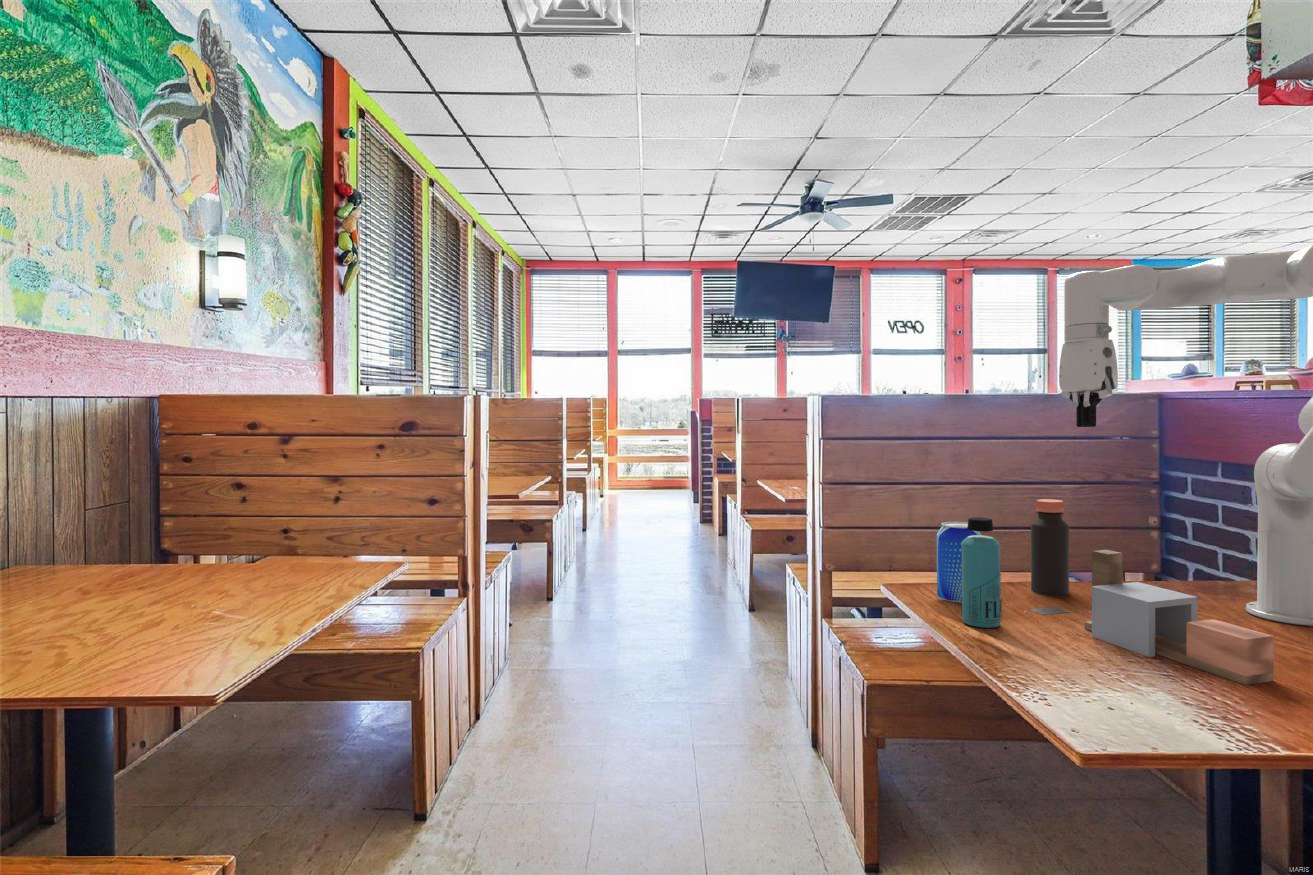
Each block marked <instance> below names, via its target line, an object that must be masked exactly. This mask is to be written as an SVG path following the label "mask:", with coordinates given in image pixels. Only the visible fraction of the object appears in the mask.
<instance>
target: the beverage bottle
mask: <svg viewBox="0 0 1313 875" xmlns="http://www.w3.org/2000/svg"><path fill="white" fill-rule="evenodd" d="M967 519H968V520H967V522H968V526H967V529H968V530H971V531H979V532H985V533H986V532H993V531H994V526H993V525H994V524H993V519H992V518H989V517H984V516H983V517H982V516H981V517H980V516H978V517H977V516H974V517H969V518H967ZM981 535H982V534H981ZM981 535H972V536H968V537H967V538H965V539H964V540H963V541H962V542H961V545H962V579H961V584H962V603H960V607H961V615H960V616H961V618H962V622H964V623H965V624H966V625H969V626H973V627H977V628H987V629H988V628H997V627H999V626H1000V625H1001V623H1002V618H1003V614H1002V613H1003V611H1002V610H1003V608H1002V604H1003V603H1002V602H1003V600H1002V599H1003V598H1002V597H1001V596H1002V594H1001V593H1002V589H1001V588H1002V587H1001V584H1002V583H1001V580H1002V574H1001V571H1002V570H1001V569H1002V567H1001V566H1002V563H1001V562H1002V561H1001V544H1000V542H999V540H997V539H996V538H995V537H992V536H988V535H982V536H981Z"/></svg>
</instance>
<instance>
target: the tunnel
mask: <svg viewBox="0 0 1313 875" xmlns="http://www.w3.org/2000/svg"><path fill="white" fill-rule="evenodd" d="M1198 601H1199V600H1198V596H1195V595H1190V594H1187V593H1183V592H1179V591H1176V590H1171V589H1167V588H1163V587H1160V586H1155V585H1151V584H1147V583H1144V582H1140V581H1132V582H1122V583H1121V584H1111V585H1100V586H1092V585H1091V621H1092V631H1091V638H1095V639H1098V640H1100V641H1103V642H1107V643H1109V644H1112V645H1114V646H1118V647H1120V648H1123V649H1125V650H1129V651H1130V652H1134V653H1136V654H1139V655H1142V656H1145V657H1148V658H1150V657H1155V656H1156V653H1155V634H1157V635H1160V636H1163V637H1166V638H1169V639H1172V640H1175V641H1178V642H1181V643H1184V644H1187V622H1193V621H1198V609H1199V608H1198V606H1199V605H1198Z"/></svg>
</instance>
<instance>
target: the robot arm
mask: <svg viewBox="0 0 1313 875" xmlns="http://www.w3.org/2000/svg"><path fill="white" fill-rule="evenodd" d="M1063 292H1064V295H1063V297H1064V303H1063V304H1064V307H1063V308H1064V314H1063V315H1064V320H1063V322H1064V328H1063V329H1064V334H1063V335H1064V343H1062V346H1061V347H1062V348H1061V352H1060V359H1059V369H1058V370H1059V371H1058V372H1059V373H1058V383H1059V384H1058V385H1059V388H1060V389H1059V390H1061V391H1062V394H1061V396H1062V398H1064V399H1069V400H1071V402H1072V404H1073V405H1072V406H1073V407H1075V408H1076V414H1075V415H1076V416H1075V417H1076V427H1077V428H1095V427H1096V426H1097V407H1100V403H1101V401H1102V400H1103V399H1104V398H1105V399H1106V398H1108V397H1111V396H1113V391H1114V390H1116V389H1117V387H1118V384H1119V372H1118V370H1119V369H1118V361H1117V354H1116V349H1115V345H1114V344H1115V343H1114V341H1113V339H1110V337H1109V335H1110V333H1111V332H1112V331H1113V328H1112V326H1111V325H1109V324H1110V307H1111V308H1113V309H1116V310H1117V311H1123V312H1124V311H1126V312H1127V311H1143V310H1144V311H1145V310H1146V311H1147V310H1148V311H1149V310H1160V309H1161V310H1162V309H1173V308H1183V307H1194V306H1195V307H1196V306H1197V307H1198V306H1212V305H1218V304H1219V305H1220V304H1233V303H1243V302H1244V303H1245V302H1260V301H1261V302H1262V301H1263V302H1264V301H1279V300H1280V301H1281V300H1292V299H1293V300H1294V299H1304V298H1313V244H1311V245H1309V246H1307V247H1305V248H1302V249H1298V250H1289V251H1278V252H1277V251H1276V252H1267V253H1256V254H1255V253H1254V254H1244V255H1243V254H1242V255H1232V256H1231V255H1230V256H1222V257H1218V258H1213V259H1210V260H1207V261H1204V262H1201V263H1198V264H1194V265H1192V266H1190V265H1189V266H1186V267H1182V268H1176V269H1170V270H1162V271H1156V270H1155V269H1154V268H1152V267H1151V266H1148V265H1144V264H1132V265H1128V266H1127V265H1126V266H1122V267H1118V268H1112V269H1107V270H1103V271H1102V270H1090V271H1089V270H1086V271H1081V272H1075V273H1072V274H1069V275H1068V276H1067V277H1066V278H1065V280H1064V291H1063ZM1297 421H1298V426H1299V430H1301V432H1302V433H1303V434H1304V437H1303V438H1302V439H1301V440H1300V442H1299V443H1298V442H1297V443H1295V442H1292V443H1291V442H1289V443H1287V442H1286V443H1280V444H1277V445H1273V446H1271V447H1269V448H1268V449H1265V451H1263V452H1262V453H1261V454H1260V455H1259V457H1258V458H1257V459H1256V462H1255V465H1254V469H1253V478H1254V486H1255V487H1254V488H1255V495H1256V500H1257V574H1256V575H1257V578H1256V579H1257V580H1256V581H1257V582H1256V583H1257V585H1256V586H1257V587H1256V594H1257V596H1256V598H1257V599H1256V600H1255V601H1250V602H1248V603H1246V604H1245V611H1246V612H1248V613H1249V614H1251V615H1252V616H1256V617H1258V618H1262V619H1266V620H1270V621H1273V622H1274V621H1275V622H1279V623H1284V624H1290V625H1291V624H1292V625H1300V626H1310V627H1313V396H1311V398H1310V399H1309V400H1308V401H1307V403H1306V404H1305V405H1304V406H1303V408H1302V409H1301V411H1300V413H1299V415H1298V420H1297Z"/></svg>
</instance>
